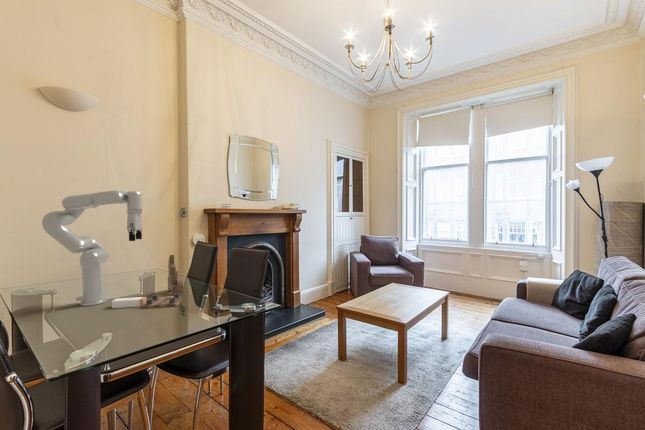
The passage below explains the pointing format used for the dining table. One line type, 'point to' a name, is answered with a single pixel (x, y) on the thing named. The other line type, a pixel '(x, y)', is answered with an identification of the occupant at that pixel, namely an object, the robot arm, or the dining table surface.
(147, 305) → the brown fixture board
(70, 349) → the dining table surface
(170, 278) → the wooden toy
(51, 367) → the dining table surface
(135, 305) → the block
